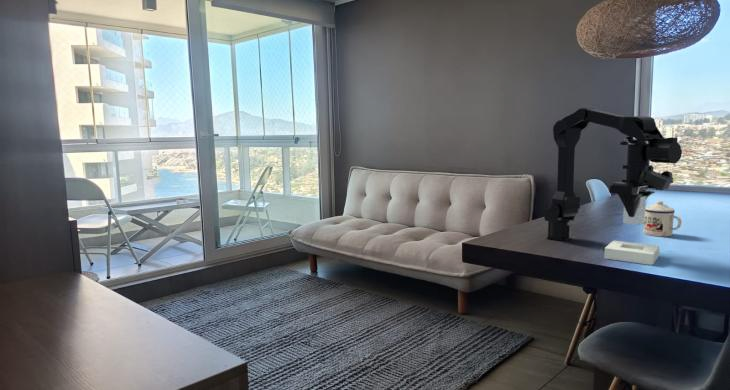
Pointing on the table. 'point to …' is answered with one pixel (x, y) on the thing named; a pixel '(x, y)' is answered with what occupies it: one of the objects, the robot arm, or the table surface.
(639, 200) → the keyed peg
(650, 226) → the teacup with lid
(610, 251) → the hub block
